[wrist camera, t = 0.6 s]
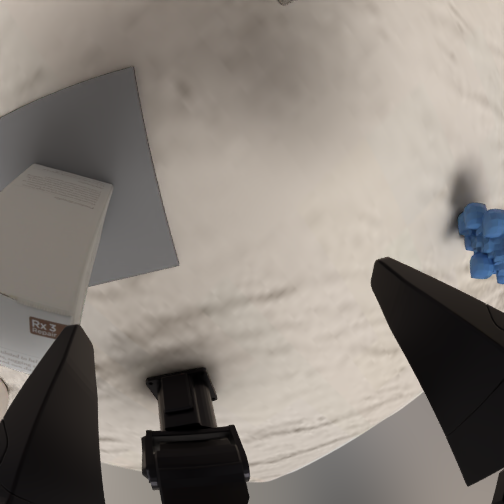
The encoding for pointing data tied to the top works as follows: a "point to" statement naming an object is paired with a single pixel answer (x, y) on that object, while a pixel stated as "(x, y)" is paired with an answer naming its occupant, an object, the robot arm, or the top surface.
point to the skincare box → (45, 258)
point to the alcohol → (3, 399)
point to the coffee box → (286, 1)
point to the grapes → (484, 240)
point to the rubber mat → (98, 166)
